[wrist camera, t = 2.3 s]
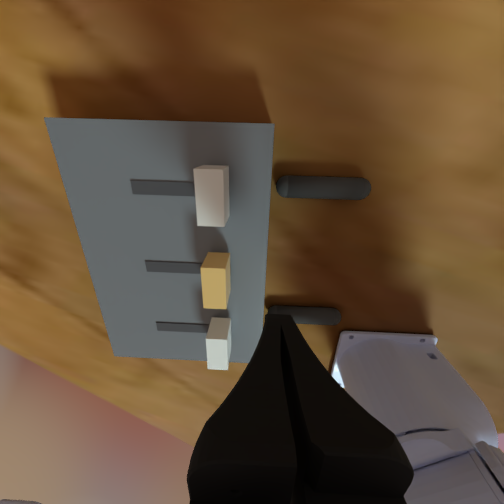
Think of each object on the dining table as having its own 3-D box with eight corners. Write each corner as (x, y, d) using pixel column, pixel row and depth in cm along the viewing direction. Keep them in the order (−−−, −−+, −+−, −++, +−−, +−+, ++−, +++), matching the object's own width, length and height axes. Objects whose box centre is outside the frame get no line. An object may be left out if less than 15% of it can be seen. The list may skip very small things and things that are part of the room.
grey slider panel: (272, 126, 17) (274, 123, 14) (260, 339, 25) (260, 364, 22) (78, 121, 17) (42, 117, 14) (130, 333, 26) (113, 357, 23)
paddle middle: (230, 252, 17) (225, 268, 15) (230, 289, 19) (226, 309, 17) (208, 252, 17) (200, 267, 15) (210, 289, 19) (203, 308, 17)
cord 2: (339, 304, 23) (344, 315, 22) (336, 317, 24) (341, 329, 22) (267, 301, 23) (268, 312, 22) (266, 314, 24) (267, 325, 23)
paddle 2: (230, 318, 20) (227, 339, 18) (231, 346, 21) (227, 370, 19) (211, 317, 20) (205, 338, 18) (213, 345, 21) (207, 368, 19)
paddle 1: (228, 165, 15) (223, 169, 13) (229, 215, 16) (224, 226, 14) (203, 164, 15) (193, 168, 13) (206, 214, 16) (197, 226, 14)
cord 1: (368, 176, 18) (377, 179, 17) (363, 197, 19) (371, 202, 17) (276, 174, 18) (277, 176, 17) (274, 194, 19) (275, 199, 18)
